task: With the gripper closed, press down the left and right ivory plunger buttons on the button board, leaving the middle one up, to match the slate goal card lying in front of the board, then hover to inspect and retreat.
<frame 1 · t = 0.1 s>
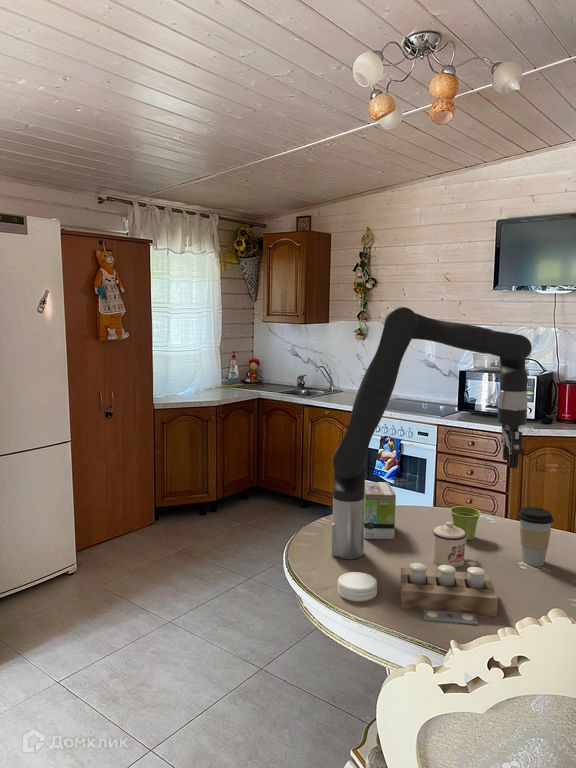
hand: (510, 463, 158), 29 cm above the table, fingers open, 8 cm apart
left button: (417, 574, 141), point 6 cm above the table, slide at 0.0 cm
plant pot: (464, 537, 181), on the table
coaster: (357, 593, 144), on the table
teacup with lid: (451, 561, 163), on the table
middle button: (446, 576, 140), point 6 cm above the table, slide at 0.0 cm
goal card: (449, 617, 132), on the table
button board: (445, 599, 141), on the table
right button: (475, 578, 139), point 6 cm above the table, slide at 0.0 cm
tea box: (376, 531, 187), on the table
coffee cup: (533, 562, 162), on the table
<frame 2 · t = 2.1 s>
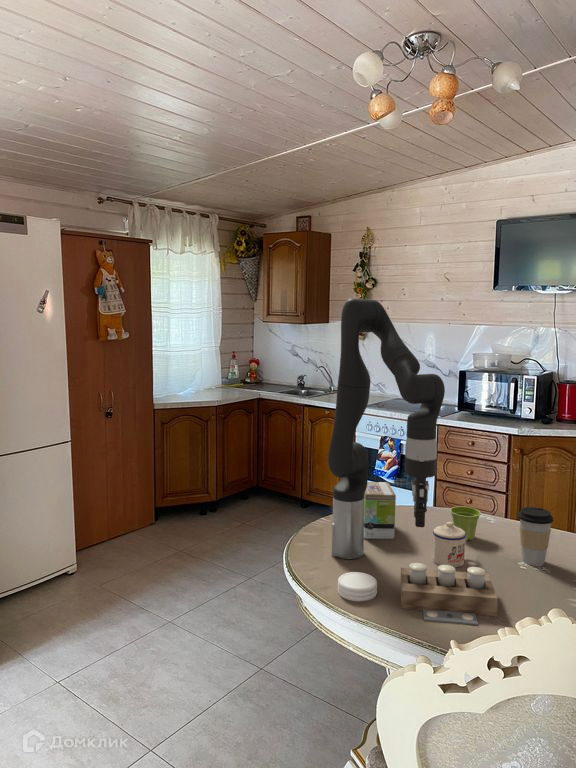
hand: (419, 521, 140), 20 cm above the table, fingers open, 5 cm apart
nothing on the table moved.
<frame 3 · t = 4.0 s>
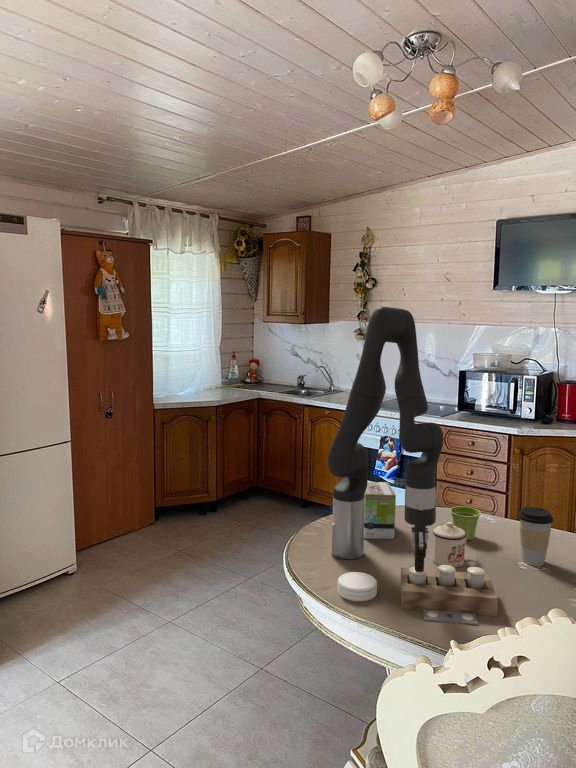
hand: (419, 570, 141), 7 cm above the table, fingers closed
left button: (417, 578, 141), point 5 cm above the table, slide at 1.0 cm, touching gripper
everything else where it was.
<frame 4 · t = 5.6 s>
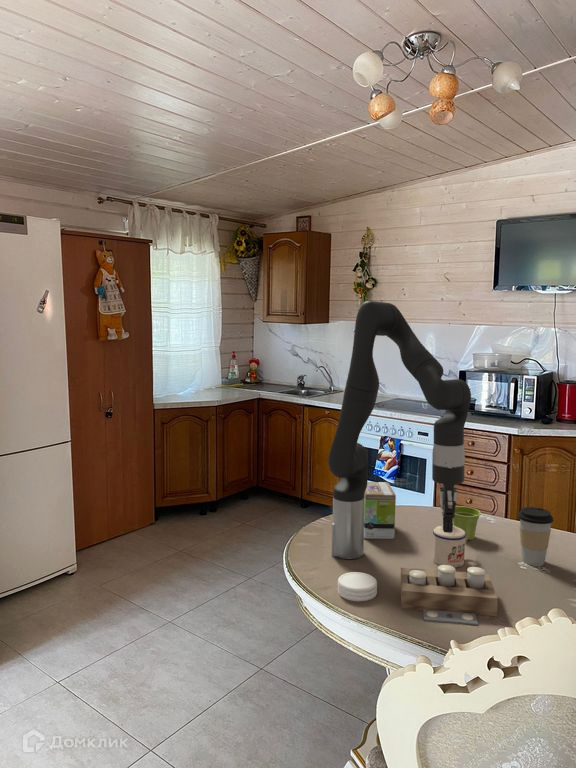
hand: (447, 531, 138), 18 cm above the table, fingers closed
left button: (417, 581, 141), point 4 cm above the table, slide at 1.9 cm
everything else where it was.
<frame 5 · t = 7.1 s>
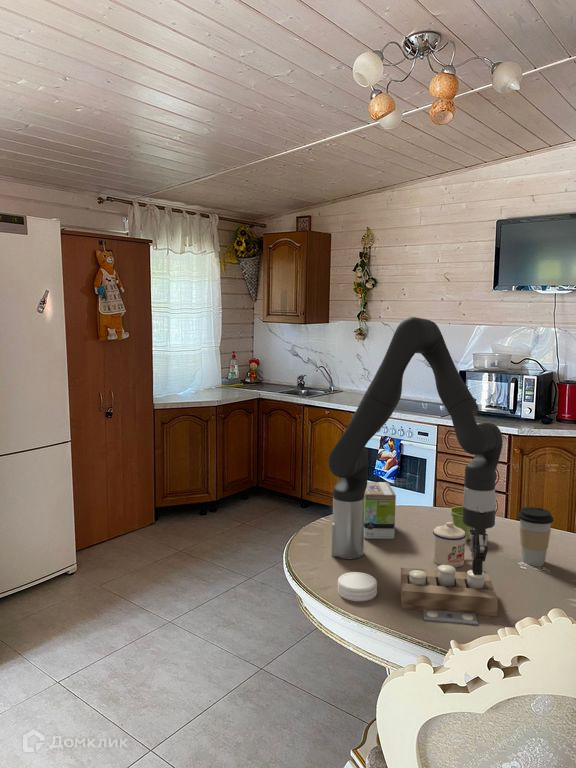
hand: (477, 573, 139), 7 cm above the table, fingers closed
right button: (475, 581, 139), point 5 cm above the table, slide at 0.8 cm, touching gripper
everything else where it was.
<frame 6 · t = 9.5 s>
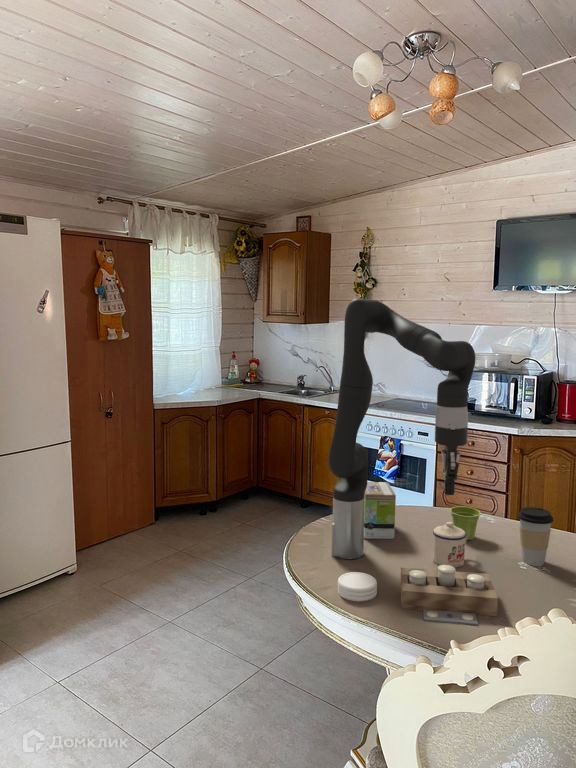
hand: (449, 494, 138), 27 cm above the table, fingers closed
right button: (475, 585, 139), point 4 cm above the table, slide at 1.9 cm
everything else where it was.
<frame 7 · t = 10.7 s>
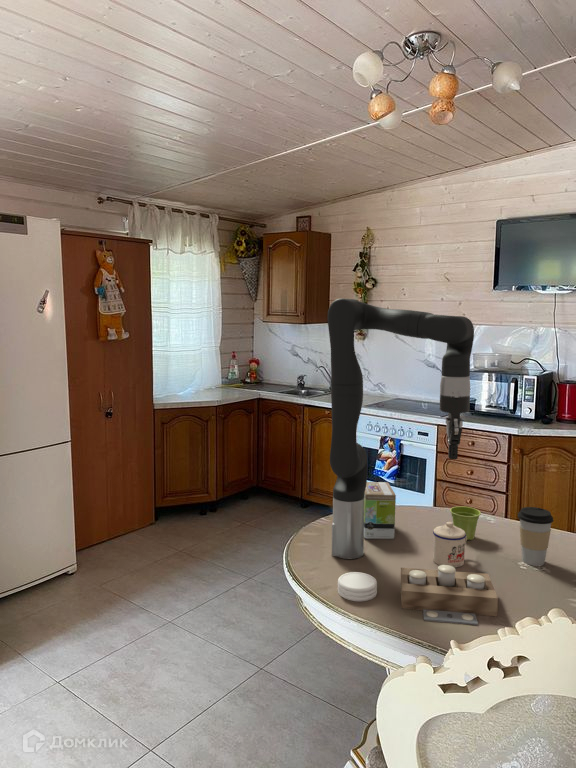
hand: (452, 458, 148), 33 cm above the table, fingers closed
nothing on the table moved.
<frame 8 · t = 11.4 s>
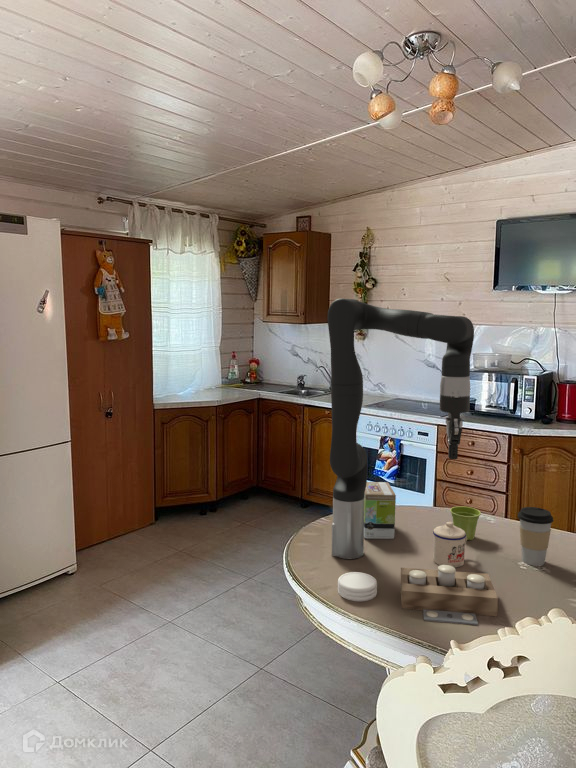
hand: (452, 458, 148), 33 cm above the table, fingers closed
nothing on the table moved.
at the end: left button slide at 1.9 cm; right button slide at 1.9 cm; middle button slide at 0.0 cm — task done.
